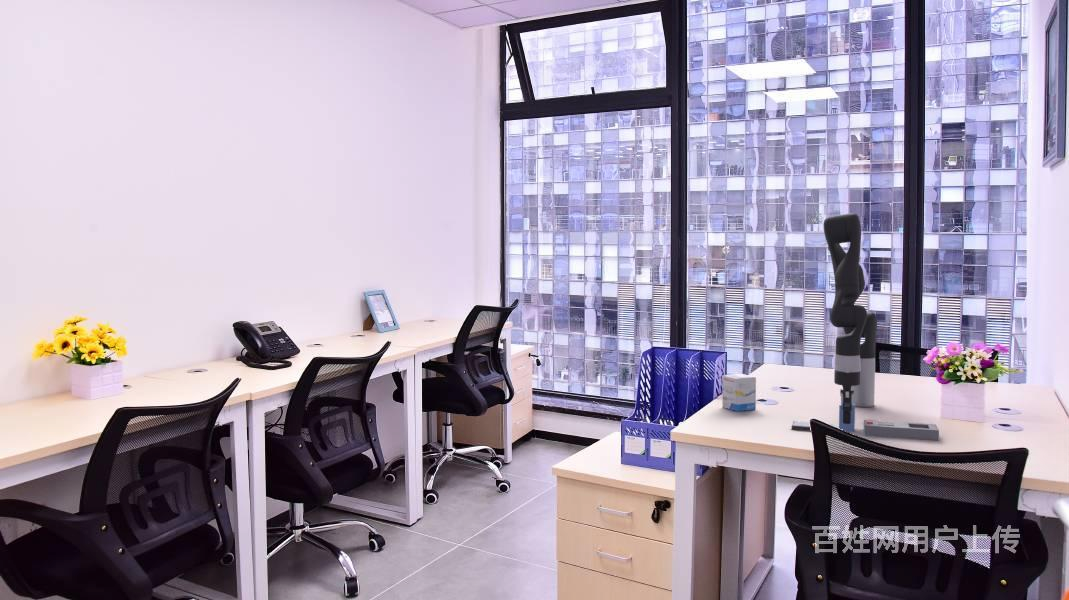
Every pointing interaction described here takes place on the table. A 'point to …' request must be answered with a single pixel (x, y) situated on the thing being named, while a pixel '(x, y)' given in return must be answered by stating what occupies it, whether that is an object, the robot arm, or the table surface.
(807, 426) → the phone slab
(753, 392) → the ink box
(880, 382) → the table surface
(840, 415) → the block
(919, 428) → the power strip
